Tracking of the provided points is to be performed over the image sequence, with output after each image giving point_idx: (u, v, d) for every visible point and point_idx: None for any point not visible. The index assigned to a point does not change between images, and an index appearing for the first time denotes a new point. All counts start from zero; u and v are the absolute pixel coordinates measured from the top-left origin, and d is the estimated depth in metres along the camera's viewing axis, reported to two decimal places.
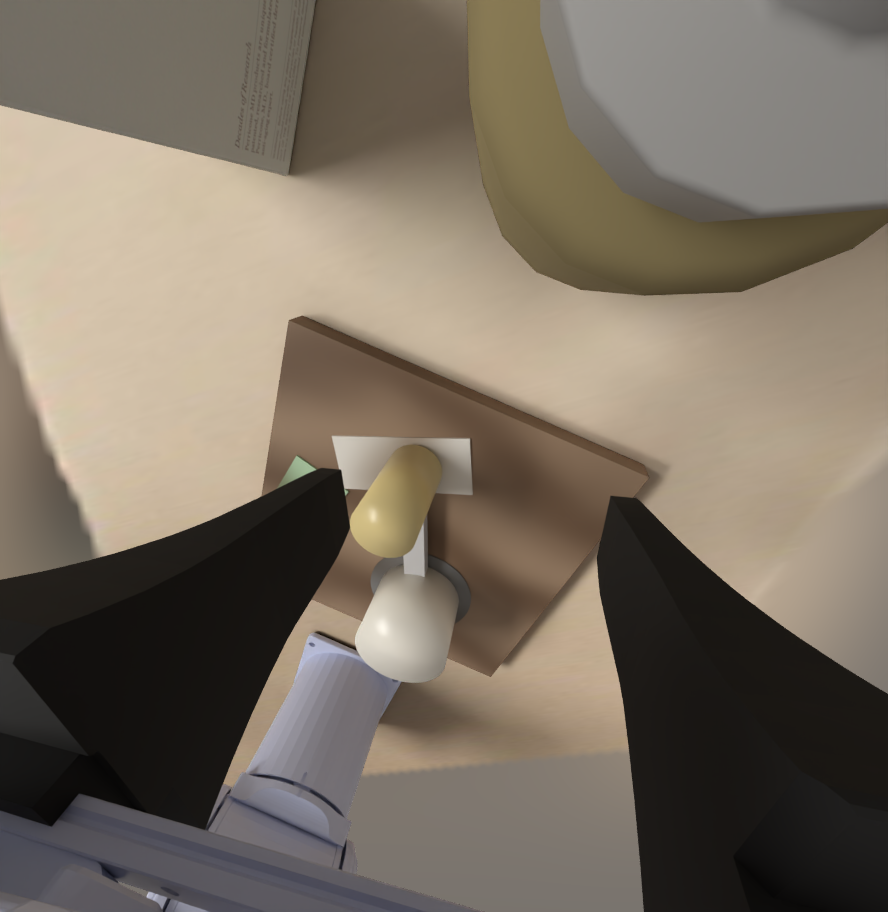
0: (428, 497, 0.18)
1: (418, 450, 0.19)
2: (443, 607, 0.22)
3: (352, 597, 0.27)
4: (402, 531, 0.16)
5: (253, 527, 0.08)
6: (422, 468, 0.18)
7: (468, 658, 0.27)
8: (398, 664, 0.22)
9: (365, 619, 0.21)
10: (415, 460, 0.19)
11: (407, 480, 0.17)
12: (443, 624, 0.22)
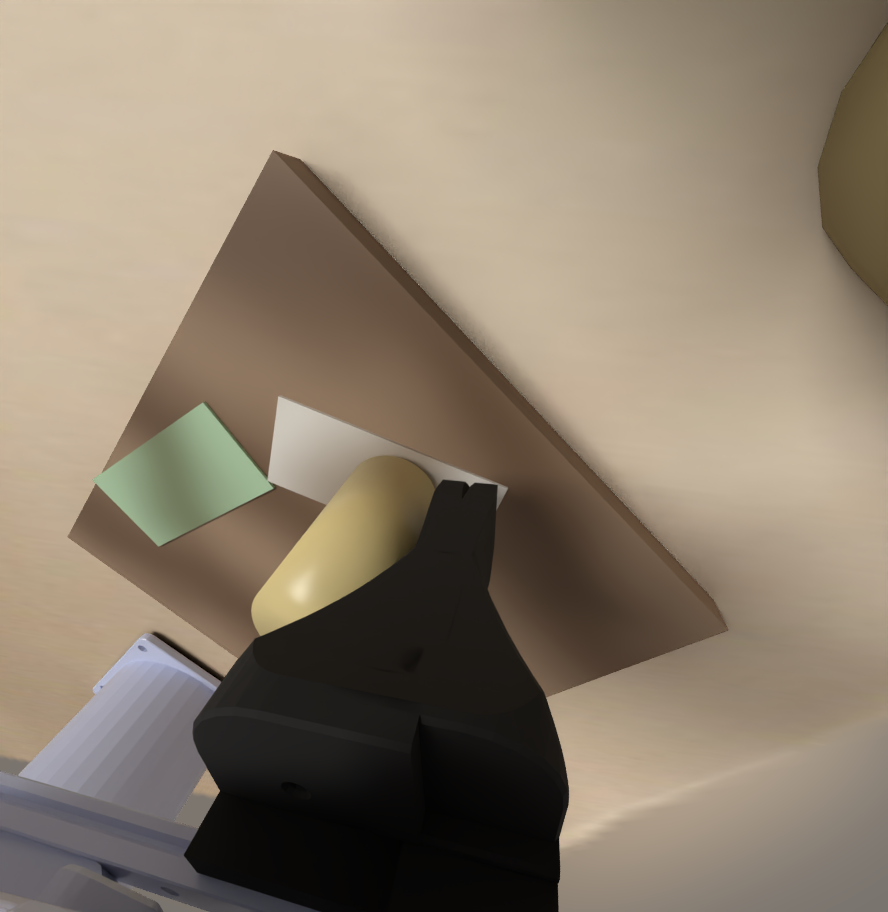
0: None
1: (412, 474, 0.11)
2: None
3: (224, 620, 0.18)
4: None
5: (470, 555, 0.07)
6: (415, 513, 0.10)
7: None
8: None
9: None
10: (406, 494, 0.11)
11: (389, 540, 0.09)
12: None
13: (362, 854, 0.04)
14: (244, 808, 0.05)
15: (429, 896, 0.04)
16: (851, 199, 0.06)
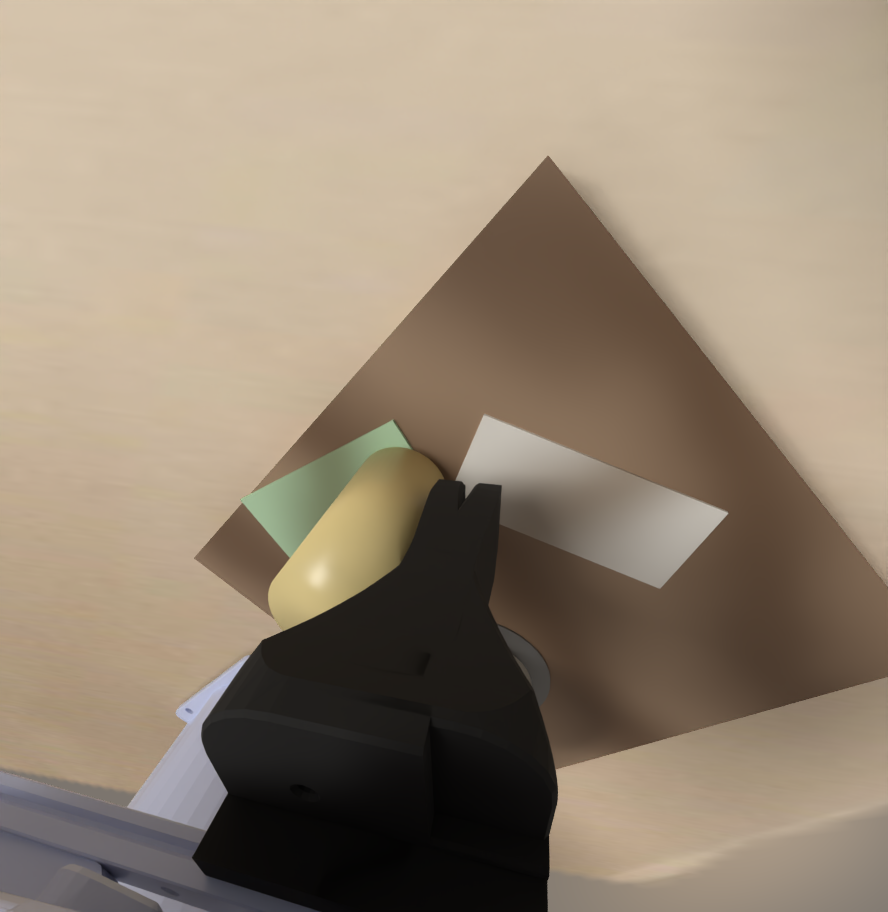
0: None
1: (393, 454, 0.11)
2: None
3: None
4: None
5: (476, 556, 0.07)
6: (400, 481, 0.10)
7: None
8: None
9: None
10: (387, 470, 0.11)
11: (368, 508, 0.09)
12: None
13: (353, 851, 0.04)
14: (252, 811, 0.05)
15: (418, 893, 0.04)
16: None
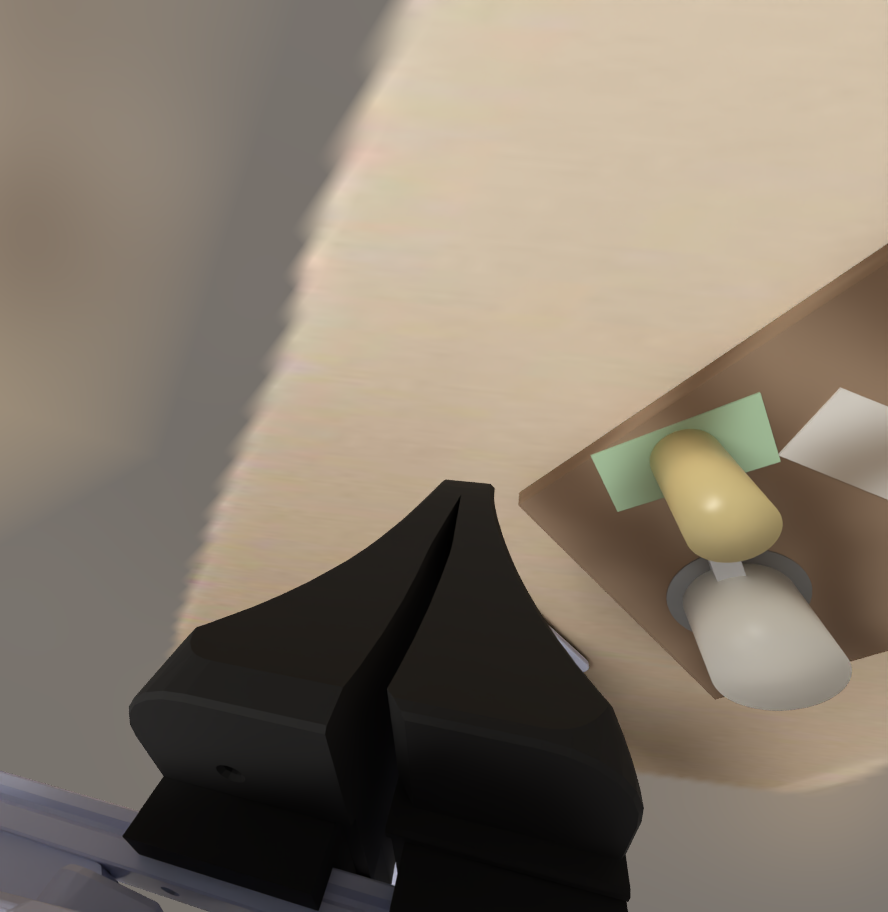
0: None
1: (686, 434, 0.17)
2: (797, 600, 0.18)
3: (635, 576, 0.21)
4: (760, 519, 0.13)
5: (427, 550, 0.07)
6: (713, 447, 0.15)
7: None
8: (780, 689, 0.17)
9: (711, 648, 0.18)
10: (696, 443, 0.16)
11: (717, 465, 0.14)
12: (816, 620, 0.17)
13: (421, 870, 0.04)
14: (186, 792, 0.05)
15: None
16: None
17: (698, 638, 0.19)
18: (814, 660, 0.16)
